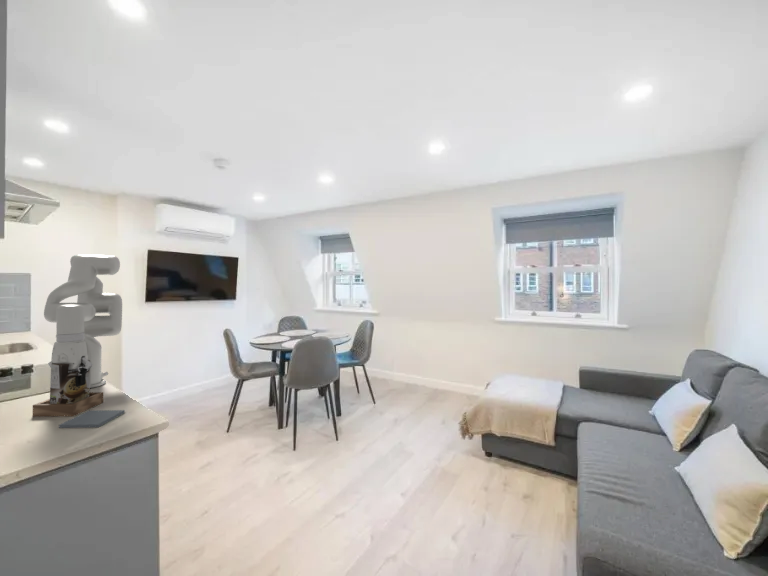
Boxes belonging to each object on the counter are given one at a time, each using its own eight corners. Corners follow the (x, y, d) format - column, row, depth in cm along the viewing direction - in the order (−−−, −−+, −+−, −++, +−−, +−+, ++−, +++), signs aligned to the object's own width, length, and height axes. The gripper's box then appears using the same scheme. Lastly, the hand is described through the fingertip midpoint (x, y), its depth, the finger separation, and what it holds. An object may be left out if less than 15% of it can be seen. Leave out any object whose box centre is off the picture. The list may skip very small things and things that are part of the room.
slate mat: (89, 413, 118) (89, 410, 118) (124, 412, 119) (124, 410, 119) (58, 427, 106) (58, 424, 106) (98, 427, 107) (98, 424, 107)
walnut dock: (67, 402, 127) (67, 392, 127) (103, 402, 128) (103, 392, 128) (32, 416, 114) (32, 405, 114) (73, 416, 115) (73, 405, 115)
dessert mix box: (60, 410, 116) (60, 365, 116) (49, 407, 118) (49, 363, 118) (90, 401, 125) (90, 359, 124) (79, 399, 127) (79, 358, 126)
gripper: (37, 338, 118) (37, 387, 118) (82, 340, 117) (82, 389, 117) (59, 335, 125) (59, 381, 126) (102, 337, 124) (101, 383, 124)
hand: (70, 384), depth 121 cm, fingers closed on dessert mix box, 7 cm apart
